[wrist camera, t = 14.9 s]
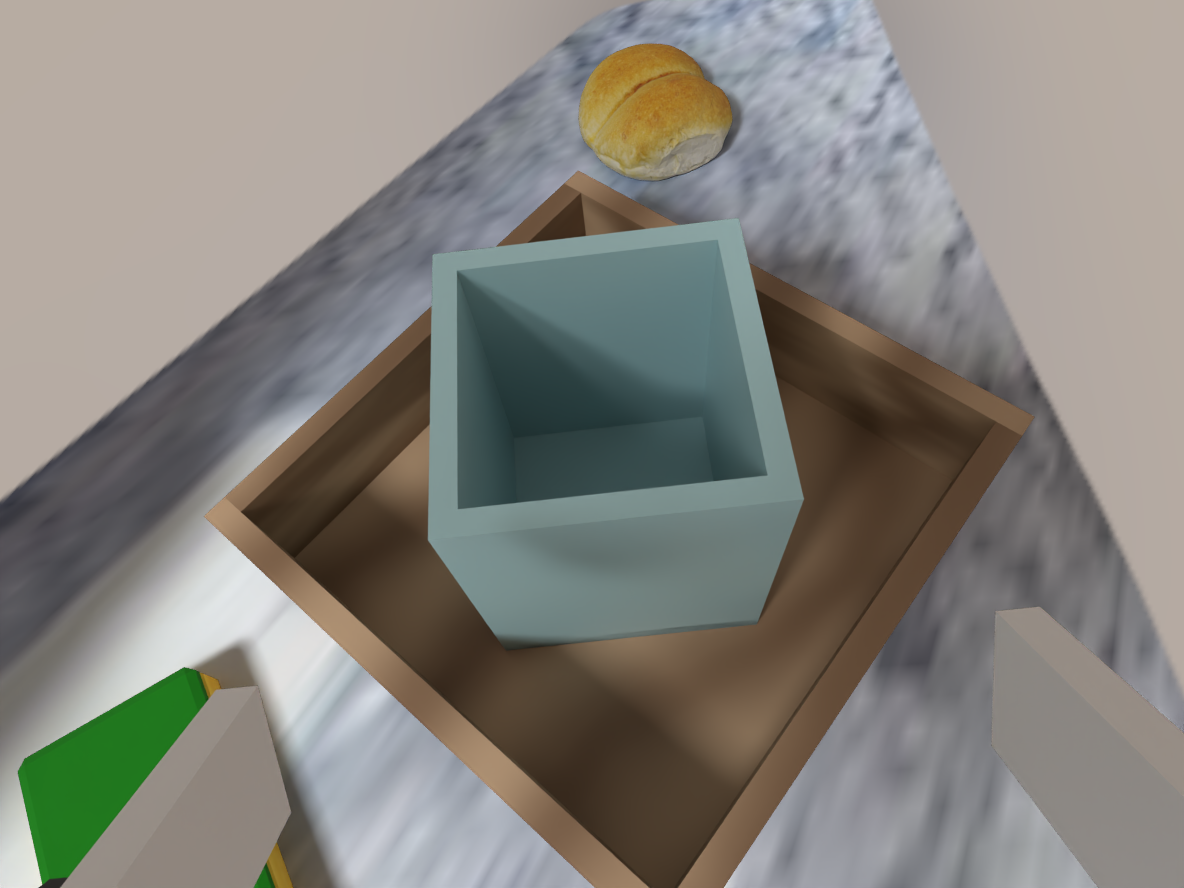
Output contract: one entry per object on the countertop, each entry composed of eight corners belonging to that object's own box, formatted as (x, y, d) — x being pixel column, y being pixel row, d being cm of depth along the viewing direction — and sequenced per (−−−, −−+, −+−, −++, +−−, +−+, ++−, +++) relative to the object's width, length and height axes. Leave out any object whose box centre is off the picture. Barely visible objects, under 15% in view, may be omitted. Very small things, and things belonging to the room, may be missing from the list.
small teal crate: (505, 650, 32) (427, 540, 21) (498, 432, 37) (432, 254, 26) (756, 624, 31) (804, 499, 21) (716, 408, 36) (738, 218, 26)
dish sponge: (220, 675, 34) (191, 661, 32) (346, 1018, 28) (319, 1030, 25) (56, 770, 32) (13, 763, 30) (149, 1154, 26) (104, 1178, 24)
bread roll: (676, 64, 50) (677, 2, 46) (749, 152, 45) (757, 91, 42) (555, 110, 48) (547, 50, 45) (620, 204, 44) (616, 147, 41)
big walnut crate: (272, 569, 35) (203, 516, 30) (588, 258, 42) (578, 170, 37) (672, 945, 27) (673, 962, 22) (977, 486, 35) (1034, 416, 29)
